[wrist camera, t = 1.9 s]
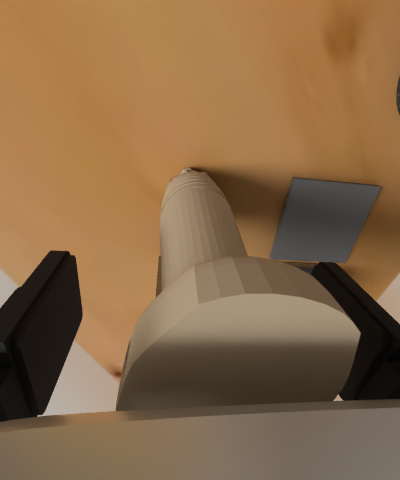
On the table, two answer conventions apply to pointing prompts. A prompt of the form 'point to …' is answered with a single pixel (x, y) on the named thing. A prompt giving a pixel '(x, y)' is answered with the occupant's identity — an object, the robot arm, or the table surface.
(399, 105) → the travel mug
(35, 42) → the table surface
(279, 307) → the handle
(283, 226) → the mat
